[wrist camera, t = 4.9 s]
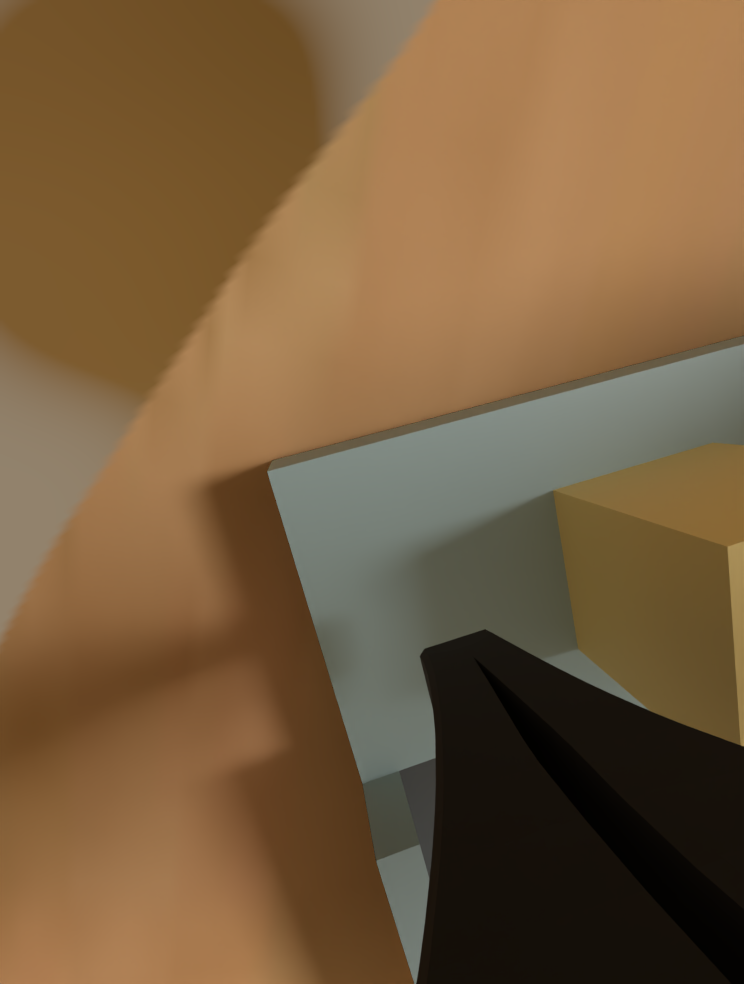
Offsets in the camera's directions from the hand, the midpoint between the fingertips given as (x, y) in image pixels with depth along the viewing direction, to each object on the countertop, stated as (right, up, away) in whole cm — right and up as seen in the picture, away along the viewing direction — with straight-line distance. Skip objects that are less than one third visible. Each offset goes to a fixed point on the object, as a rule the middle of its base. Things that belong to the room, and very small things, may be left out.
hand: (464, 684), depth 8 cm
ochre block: (+5, +2, +3) cm, 7 cm away
